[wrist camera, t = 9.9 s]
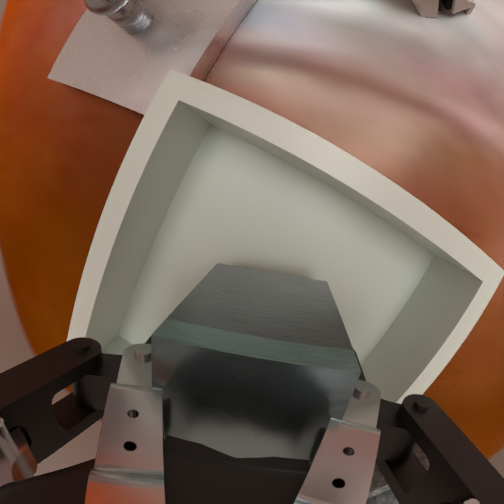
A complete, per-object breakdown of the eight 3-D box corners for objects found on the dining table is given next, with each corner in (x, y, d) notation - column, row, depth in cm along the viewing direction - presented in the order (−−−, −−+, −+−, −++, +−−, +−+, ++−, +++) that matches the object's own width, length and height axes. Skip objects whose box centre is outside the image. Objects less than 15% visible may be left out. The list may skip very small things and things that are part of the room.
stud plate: (64, 84, 16) (-4, 62, 9) (136, -28, 13) (93, -76, 7) (176, 129, 16) (115, 102, 9) (259, -4, 14) (245, -75, 7)
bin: (109, 331, 19) (60, 375, 13) (208, 104, 15) (169, 69, 10) (308, 432, 19) (310, 495, 14) (447, 245, 16) (505, 272, 10)
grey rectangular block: (217, 263, 13) (151, 334, 7) (326, 281, 13) (361, 371, 6) (207, 356, 14) (156, 460, 8) (304, 373, 14) (308, 488, 7)
